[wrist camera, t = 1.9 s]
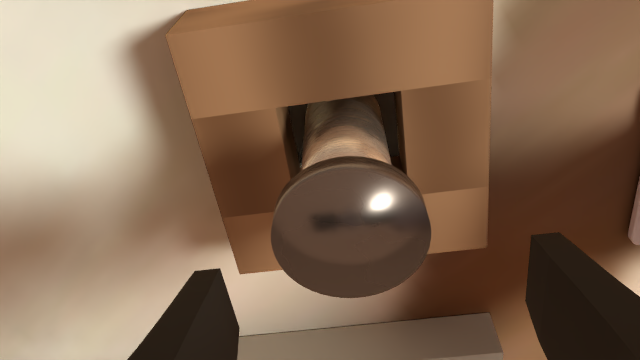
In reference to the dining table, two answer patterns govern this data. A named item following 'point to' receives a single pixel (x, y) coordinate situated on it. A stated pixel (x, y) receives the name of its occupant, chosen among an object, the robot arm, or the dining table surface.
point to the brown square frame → (338, 83)
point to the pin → (349, 207)
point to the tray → (382, 341)
